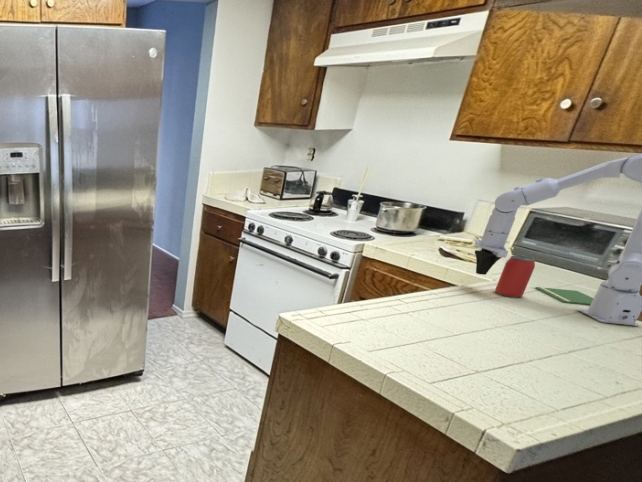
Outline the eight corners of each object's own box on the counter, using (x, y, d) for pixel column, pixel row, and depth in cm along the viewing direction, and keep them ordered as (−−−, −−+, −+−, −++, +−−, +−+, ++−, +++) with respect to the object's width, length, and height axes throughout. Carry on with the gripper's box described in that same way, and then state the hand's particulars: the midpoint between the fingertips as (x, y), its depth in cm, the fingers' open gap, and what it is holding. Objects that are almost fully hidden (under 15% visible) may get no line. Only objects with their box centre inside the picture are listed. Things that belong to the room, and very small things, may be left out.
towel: (608, 307, 139) (609, 305, 139) (563, 302, 142) (564, 300, 142) (576, 292, 152) (577, 290, 151) (535, 288, 154) (535, 286, 154)
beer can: (510, 291, 151) (525, 255, 146) (527, 298, 145) (543, 261, 140) (489, 290, 151) (503, 254, 147) (504, 297, 145) (520, 260, 141)
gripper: (469, 225, 151) (455, 266, 156) (493, 235, 138) (477, 279, 143) (496, 227, 149) (480, 268, 154) (523, 237, 136) (505, 281, 141)
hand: (480, 273), depth 148 cm, fingers closed
